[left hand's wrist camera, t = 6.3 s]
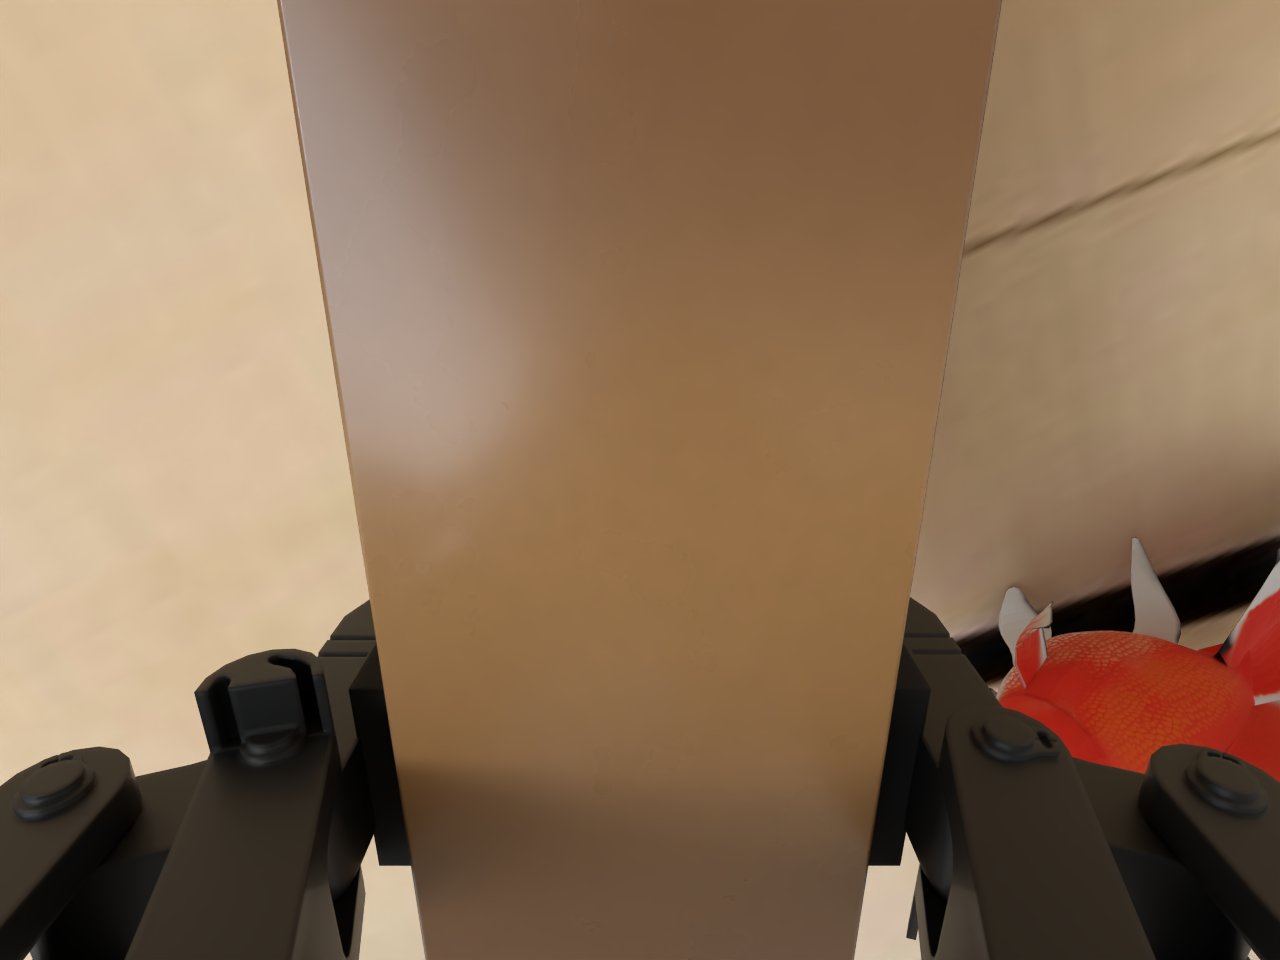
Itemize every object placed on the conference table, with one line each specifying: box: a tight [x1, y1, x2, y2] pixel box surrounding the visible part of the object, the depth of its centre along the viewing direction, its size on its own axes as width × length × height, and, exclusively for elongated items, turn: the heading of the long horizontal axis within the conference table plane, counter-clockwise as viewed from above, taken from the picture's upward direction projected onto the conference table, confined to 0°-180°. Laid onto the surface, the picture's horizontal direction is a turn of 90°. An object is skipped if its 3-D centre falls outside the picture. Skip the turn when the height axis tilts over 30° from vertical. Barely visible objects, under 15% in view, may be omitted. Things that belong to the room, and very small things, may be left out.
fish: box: [989, 538, 1280, 782], centre depth 21 cm, size 11×16×10 cm
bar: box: [277, 0, 1002, 960], centre depth 9 cm, size 24×5×8 cm, turn 0°
